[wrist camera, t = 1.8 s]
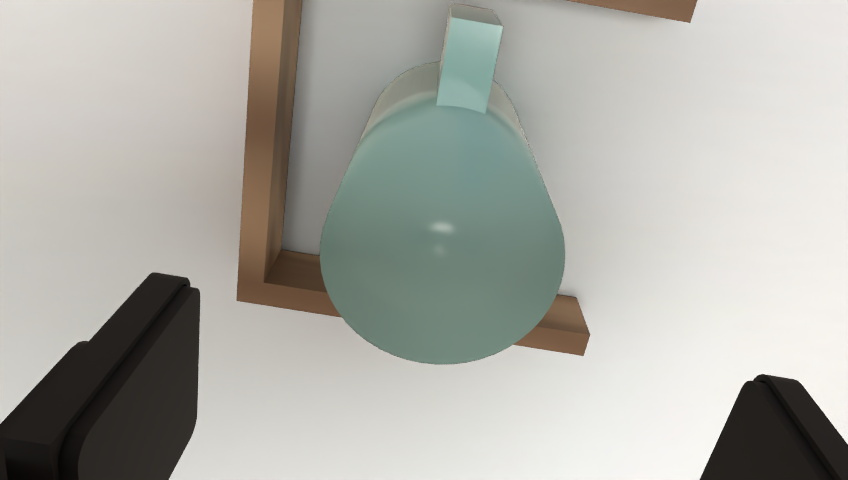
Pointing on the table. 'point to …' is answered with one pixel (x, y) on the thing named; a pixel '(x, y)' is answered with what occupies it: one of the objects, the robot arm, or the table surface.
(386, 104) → the teal mug
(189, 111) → the table surface
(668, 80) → the table surface
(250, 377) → the table surface
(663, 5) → the holder
